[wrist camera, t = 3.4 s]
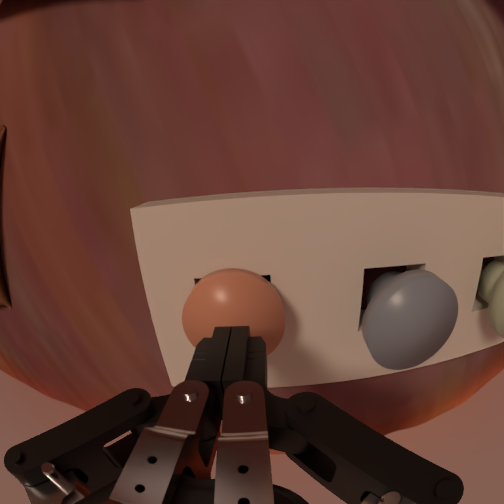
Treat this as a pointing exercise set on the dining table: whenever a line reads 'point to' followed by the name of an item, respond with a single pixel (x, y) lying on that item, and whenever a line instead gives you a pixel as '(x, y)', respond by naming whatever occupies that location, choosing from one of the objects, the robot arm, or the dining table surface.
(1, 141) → the sunglasses case
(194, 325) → the terracotta button
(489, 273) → the sage button
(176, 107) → the dining table surface
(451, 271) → the button panel
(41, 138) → the dining table surface
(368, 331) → the slate button
